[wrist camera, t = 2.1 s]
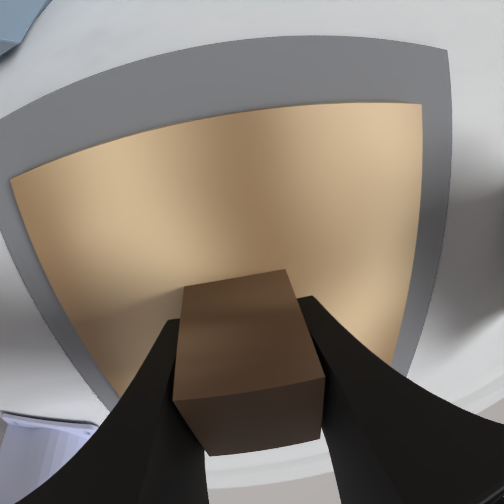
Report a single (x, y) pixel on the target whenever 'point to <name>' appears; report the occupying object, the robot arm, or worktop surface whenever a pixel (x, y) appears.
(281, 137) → the lid
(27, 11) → the bowl
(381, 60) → the mat
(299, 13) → the worktop surface
